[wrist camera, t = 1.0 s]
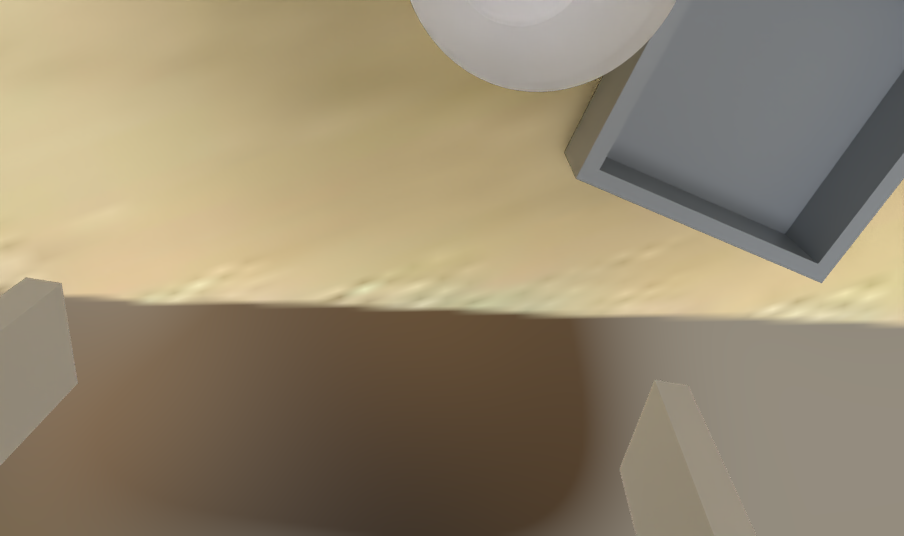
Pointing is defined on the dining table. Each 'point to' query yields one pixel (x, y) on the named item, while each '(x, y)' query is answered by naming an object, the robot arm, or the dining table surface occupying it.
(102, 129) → the dining table surface
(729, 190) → the bin
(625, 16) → the cup
